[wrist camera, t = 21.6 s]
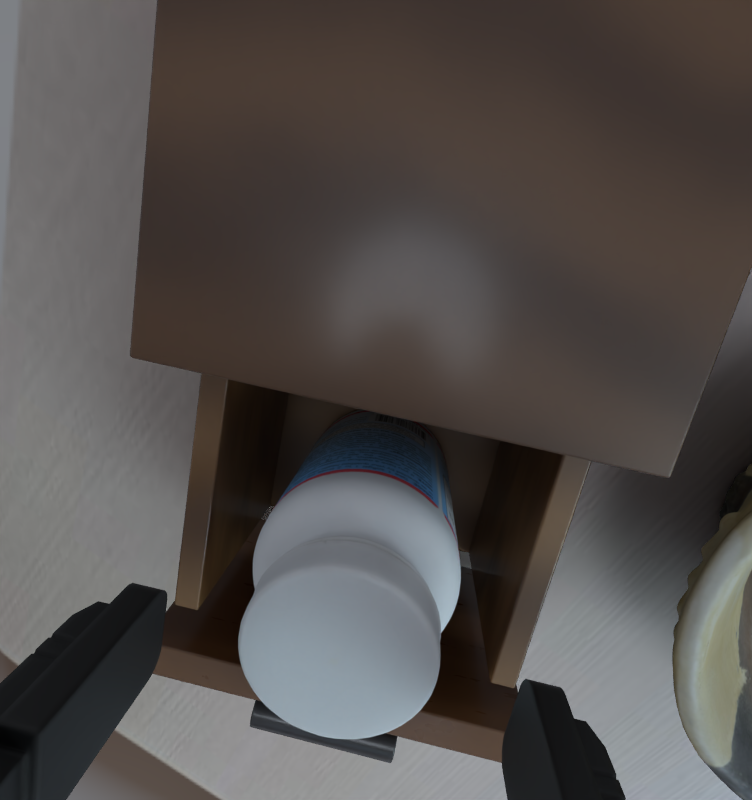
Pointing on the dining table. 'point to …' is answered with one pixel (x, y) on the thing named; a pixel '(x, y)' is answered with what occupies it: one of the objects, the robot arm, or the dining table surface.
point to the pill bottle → (354, 581)
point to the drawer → (476, 534)
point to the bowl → (720, 646)
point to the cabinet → (454, 209)
